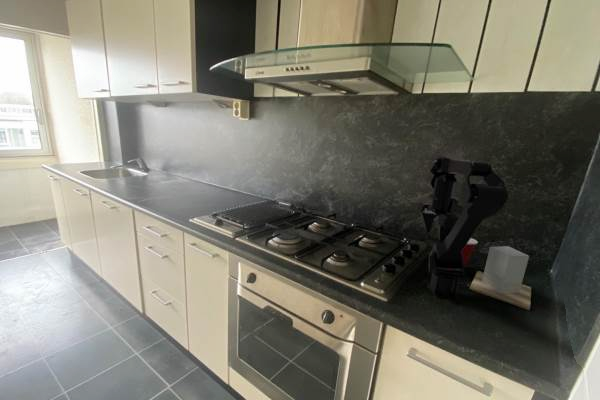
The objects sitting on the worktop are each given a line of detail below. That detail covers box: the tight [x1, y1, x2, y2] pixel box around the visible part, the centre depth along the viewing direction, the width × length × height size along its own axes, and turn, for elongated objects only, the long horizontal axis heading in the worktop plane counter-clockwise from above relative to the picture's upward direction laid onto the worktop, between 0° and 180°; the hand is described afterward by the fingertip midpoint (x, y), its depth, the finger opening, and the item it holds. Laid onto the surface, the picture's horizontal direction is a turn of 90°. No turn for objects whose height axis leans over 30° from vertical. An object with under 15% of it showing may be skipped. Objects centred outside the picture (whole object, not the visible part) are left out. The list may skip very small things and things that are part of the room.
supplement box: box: [482, 245, 530, 293], centre depth 86 cm, size 7×7×13 cm
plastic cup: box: [445, 236, 479, 270], centre depth 100 cm, size 11×11×12 cm
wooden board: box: [469, 270, 532, 311], centre depth 88 cm, size 15×15×1 cm
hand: (434, 237), depth 94 cm, fingers open, 9 cm apart
